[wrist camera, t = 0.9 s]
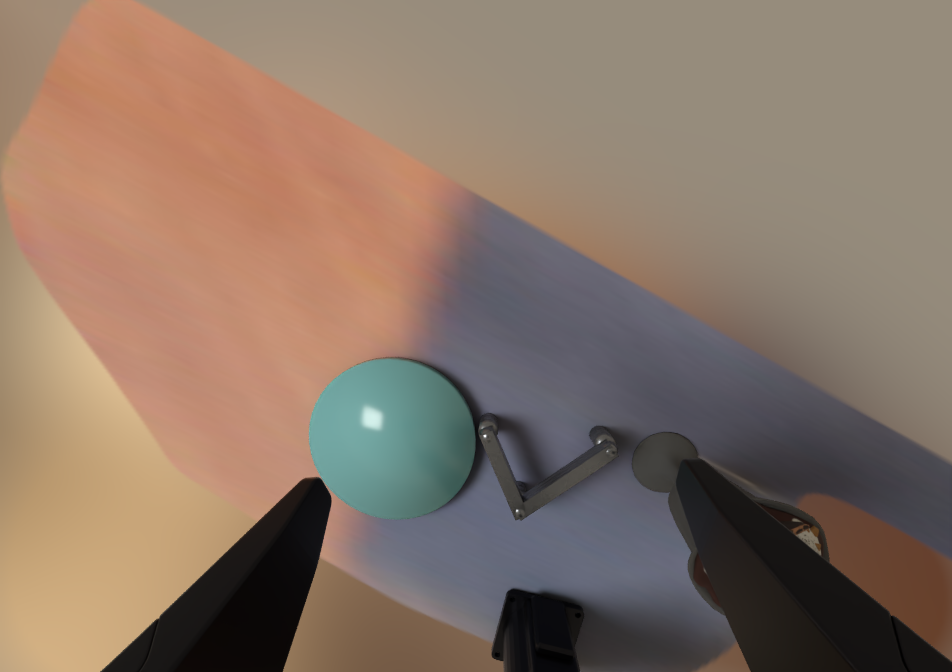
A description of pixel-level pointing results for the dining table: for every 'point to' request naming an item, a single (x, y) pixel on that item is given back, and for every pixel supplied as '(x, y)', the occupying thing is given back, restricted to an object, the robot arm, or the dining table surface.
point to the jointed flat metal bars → (554, 485)
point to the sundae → (659, 473)
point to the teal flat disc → (392, 438)
